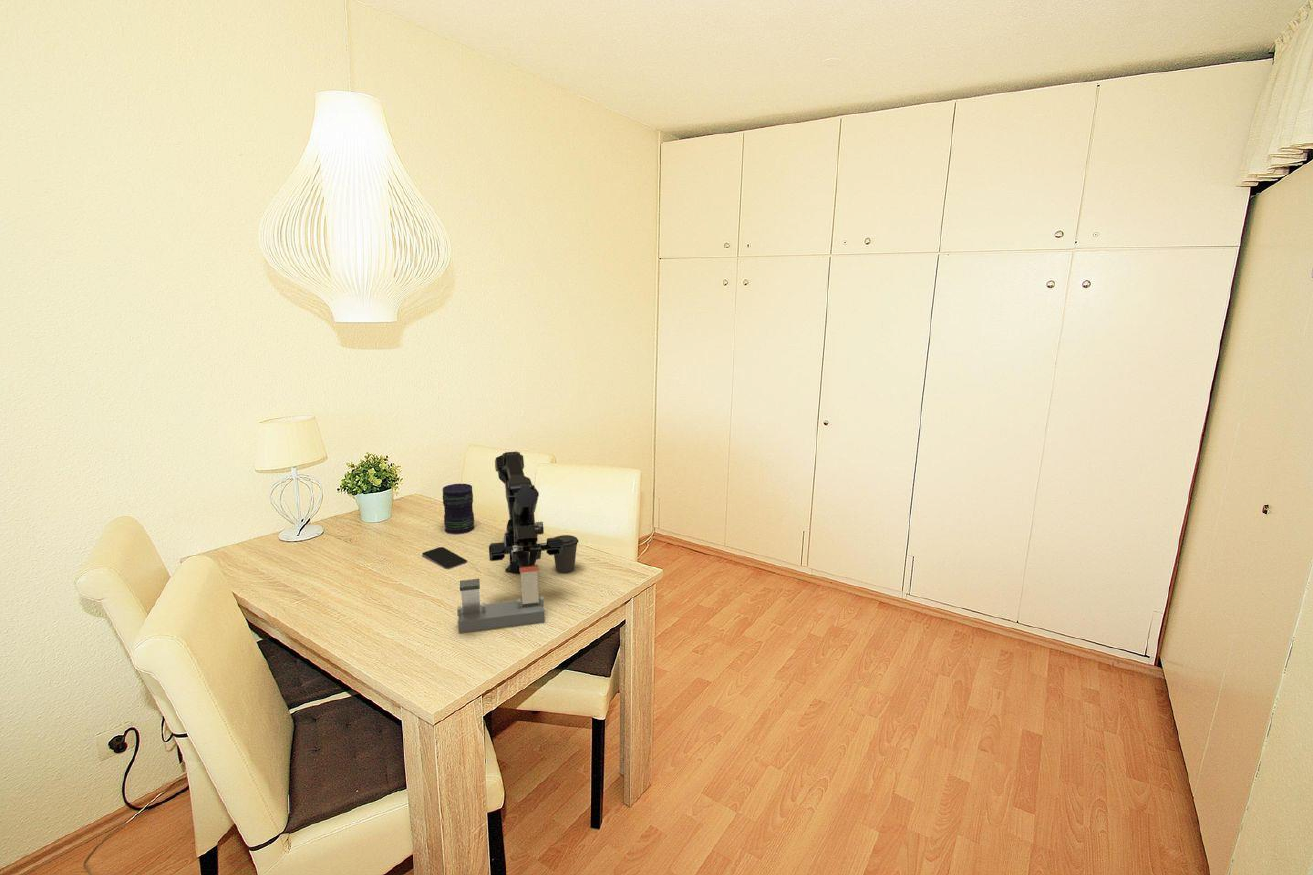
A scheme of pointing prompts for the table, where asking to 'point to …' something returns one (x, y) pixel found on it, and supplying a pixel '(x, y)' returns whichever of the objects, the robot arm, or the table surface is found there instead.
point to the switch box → (501, 615)
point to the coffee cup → (566, 554)
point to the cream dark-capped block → (470, 595)
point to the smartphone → (444, 558)
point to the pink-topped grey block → (529, 584)
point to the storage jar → (458, 508)
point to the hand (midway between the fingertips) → (528, 580)
